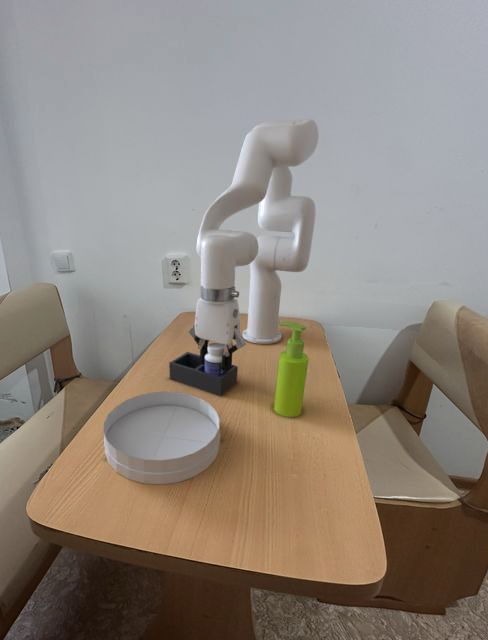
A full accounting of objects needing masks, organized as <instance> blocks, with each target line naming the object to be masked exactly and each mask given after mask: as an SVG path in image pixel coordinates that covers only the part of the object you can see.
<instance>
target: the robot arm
mask: <svg viewBox="0 0 488 640" xmlns="http://www.w3.org/2000/svg"><path fill="white" fill-rule="evenodd" d="M318 142H319V128H318V125H317V123H316V122H315V121H314V120H313V119H311V118H309V119H308V118H306V119H293V120H291V119H290V120H276V121H275V120H273V121H266V122H262V123H259V124H257V125H255V126H253V128H252V129H251V130H250V131H249V132H248V133H247V134H246V136H245V138H244V139H243V144H242V147H241V150H240V154H239V156H238V160H237V164H236V167H235V171H234V175H233V178H232V181H231V184H230V186H229V187H228V188H227V189H226V190H224V191H223V192H222V193H221V194H220V195H218V197H217V198H216V199H215V200H214V201H213V202H212V203H211V204H210V205H209V207H208V208H207V209H206V211H205V213H204V214H203V216H202V220H201V223H200V227H199V230H198V235H197V239H196V246H195V247H196V253H197V256H198V257H199V258H200V296H199V297H198V298H197V302H196V309H195V318H194V325H193V326H192V327H191V328H190V329H189V331H188V333H189V335H191V337H192V338H193V340H194V342H195V343H196V344H197V348H198V349H199V355H200V359H201V364H202V365H203V364H205V355H206V354H207V353H208V345H209V344H210V342H212V343H220V344H222V346H223V350H224V355H223V356H222V371H226V370H227V369H228V368H230V367H231V365H233V354H234V353H235V352H236V351H238V350H240V349H241V348H243V347H244V346H245V345H246V344H247V343H246V341H247V342H250V343H252V344H258V345H271V344H275V343H278V342H281V340H282V336H283V335H282V333H281V331H279V330H278V327H279V323H281V319H279V315H280V305H281V294H282V281H281V279H280V276H279V274H278V271H279V272H288V273H289V272H290V273H301V272H304V271H305V270H306V269H307V267H308V266H309V265H308V264H309V262H310V256H311V250H312V244H313V243H312V242H313V237H314V230H315V222H316V214H317V213H316V211H317V210H316V204H315V201H314V199H312V198H311V197H310V196H304V195H292V186H293V175H292V171H291V170H290V167H292V168H293V167H298V166H300V165H302V164H303V163H304V162H306V161H307V160H309V158H311V157H312V156H313V154H314V153H315V151H316V149H317V146H318ZM256 205H258V210H257V224H258V226H259V228H260V229H262V230H264V231H267V232H279V233H280V232H281V233H282V232H283V233H292V234H293V235H294V237H290V236H289V237H288V236H281V235H279V236H278V235H277V236H276V235H261V236H255V234H253V233H252V232H248V231H243V230H242V231H241V230H230V229H229V230H227V229H220V228H221V226H222V224H223V223H224V222H225V221H226V220H227V219H228V218H230V217H231V216H233V215H235V214H237V213H239V212H242V211H244V210H246V209H249V208H251V207H253V206H256ZM248 265H249V268H250V269H249V273H250V274H249V276H250V278H249V295H248V310H247V326H246V327H247V328H246V329H244V330H243V331H242V333H241V317H240V307H239V302H238V298H239V297H240V291H239V290H238V291H237V290H236V286H235V285H236V267H237V268H238V267H245V266H248ZM236 298H237V299H236ZM233 340H235V342H236V343H235V344H234V342H233Z"/></svg>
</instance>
